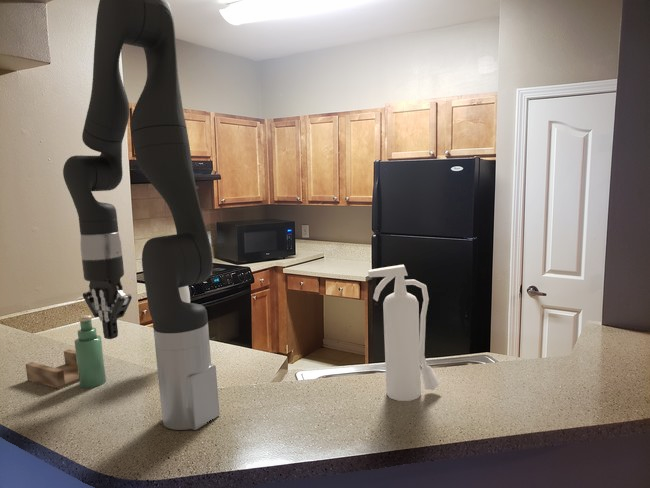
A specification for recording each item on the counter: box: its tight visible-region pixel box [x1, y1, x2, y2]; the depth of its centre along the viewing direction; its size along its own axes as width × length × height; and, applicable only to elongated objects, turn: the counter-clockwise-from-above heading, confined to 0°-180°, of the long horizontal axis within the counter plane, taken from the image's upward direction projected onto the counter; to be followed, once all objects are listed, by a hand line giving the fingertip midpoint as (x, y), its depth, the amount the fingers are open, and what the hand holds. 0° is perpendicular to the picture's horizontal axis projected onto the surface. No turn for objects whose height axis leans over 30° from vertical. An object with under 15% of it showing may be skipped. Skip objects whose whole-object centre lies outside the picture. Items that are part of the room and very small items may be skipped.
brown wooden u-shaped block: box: [25, 349, 79, 390], centre depth 112 cm, size 12×10×4 cm
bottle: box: [74, 314, 107, 389], centre depth 106 cm, size 5×5×15 cm
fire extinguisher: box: [368, 264, 442, 402], centre depth 93 cm, size 7×12×25 cm, turn 85°
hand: (111, 337), depth 102 cm, fingers closed
